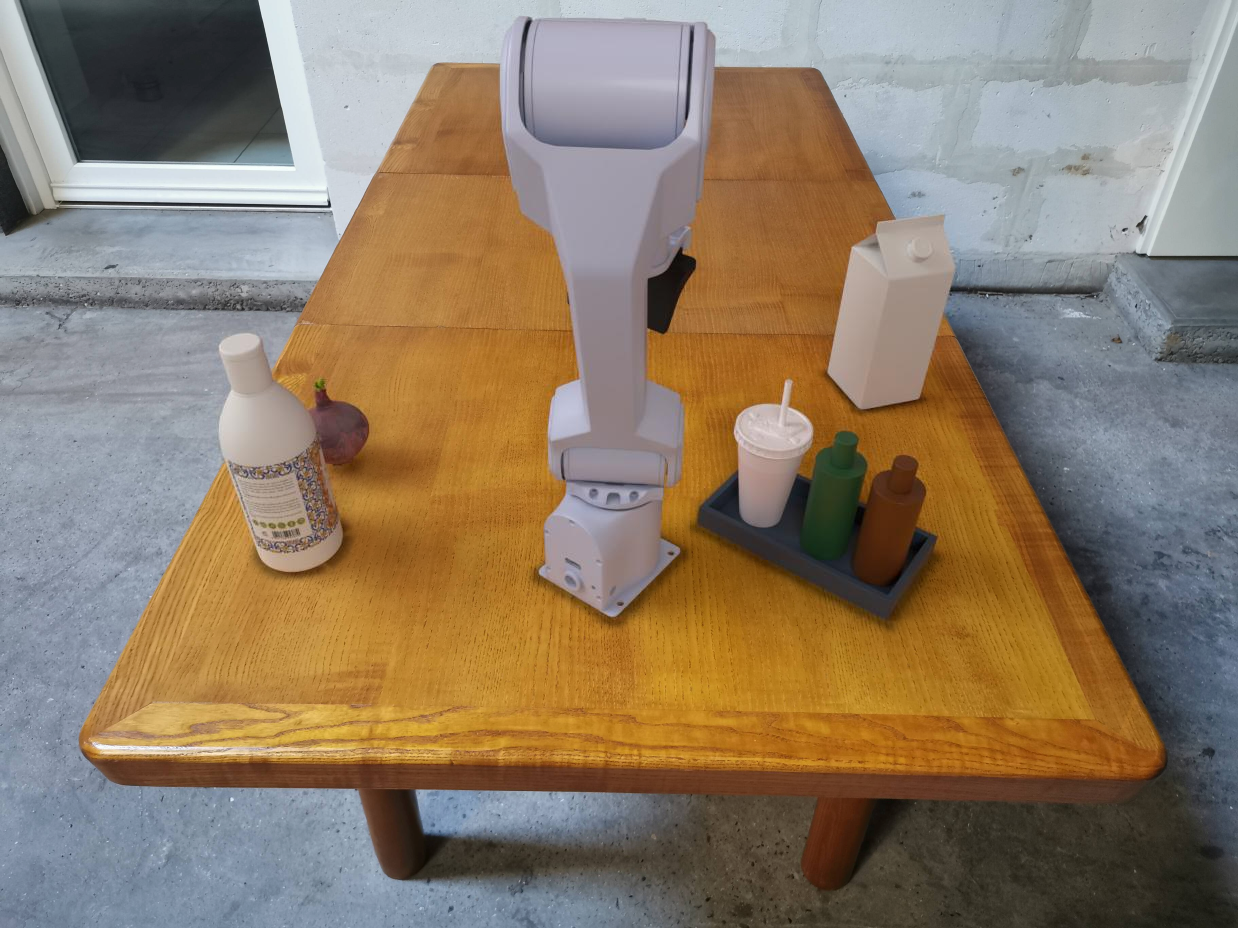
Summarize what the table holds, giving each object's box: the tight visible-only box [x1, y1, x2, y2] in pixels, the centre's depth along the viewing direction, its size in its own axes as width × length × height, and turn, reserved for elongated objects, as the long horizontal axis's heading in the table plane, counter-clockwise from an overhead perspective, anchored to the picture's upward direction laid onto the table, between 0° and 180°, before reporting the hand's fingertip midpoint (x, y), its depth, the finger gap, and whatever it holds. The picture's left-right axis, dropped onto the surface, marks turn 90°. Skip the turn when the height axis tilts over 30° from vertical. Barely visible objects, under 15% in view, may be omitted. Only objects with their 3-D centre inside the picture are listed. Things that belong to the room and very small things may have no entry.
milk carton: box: [827, 212, 956, 410], centre depth 88 cm, size 7×7×19 cm
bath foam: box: [218, 332, 344, 573], centre depth 68 cm, size 7×7×20 cm
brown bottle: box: [851, 454, 927, 586], centre depth 69 cm, size 4×4×11 cm
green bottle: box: [800, 430, 869, 560], centre depth 71 cm, size 4×4×11 cm
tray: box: [697, 469, 938, 621], centre depth 75 cm, size 9×18×2 cm, turn 53°
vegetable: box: [308, 377, 370, 468], centre depth 80 cm, size 6×6×10 cm
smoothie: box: [733, 379, 814, 528], centre depth 73 cm, size 6×6×14 cm
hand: (632, 347), depth 80 cm, fingers open, 7 cm apart
